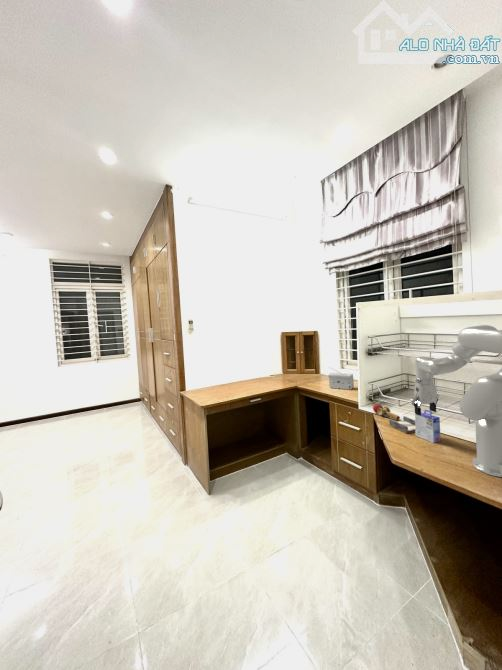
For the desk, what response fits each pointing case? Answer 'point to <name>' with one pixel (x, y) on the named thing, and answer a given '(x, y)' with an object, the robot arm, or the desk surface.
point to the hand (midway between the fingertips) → (425, 412)
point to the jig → (404, 425)
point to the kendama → (384, 411)
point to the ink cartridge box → (427, 426)
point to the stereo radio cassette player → (341, 380)
